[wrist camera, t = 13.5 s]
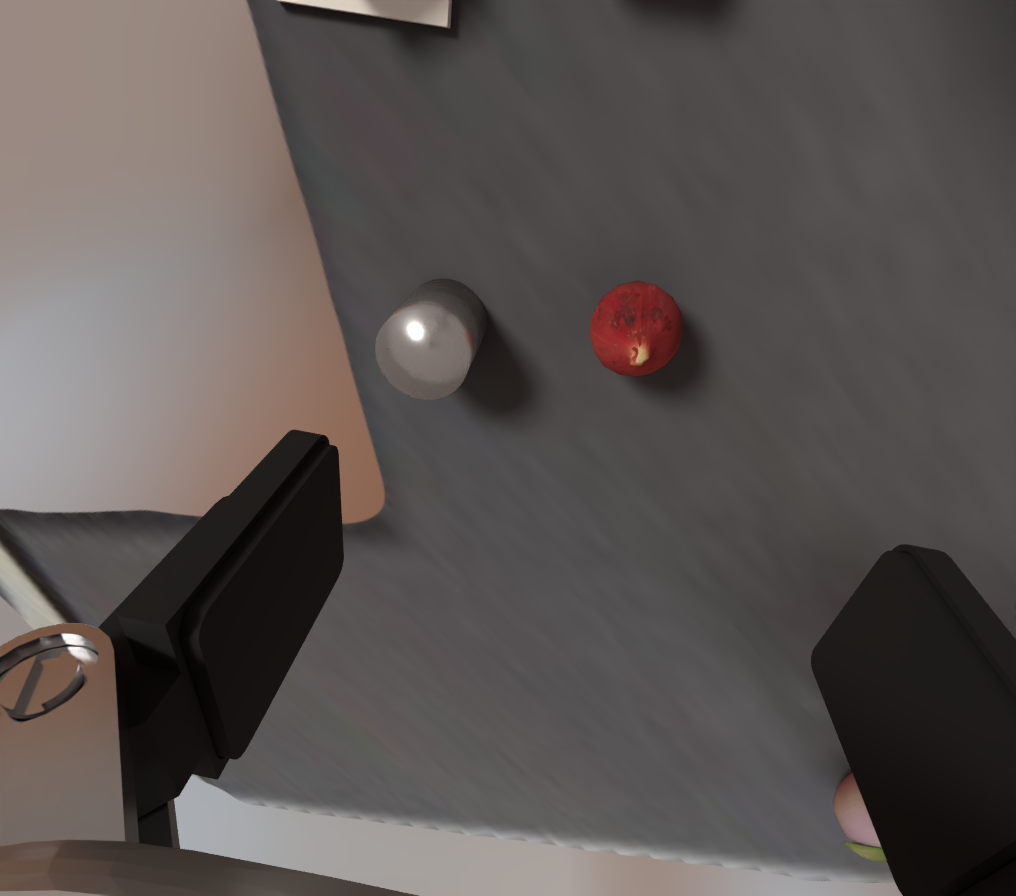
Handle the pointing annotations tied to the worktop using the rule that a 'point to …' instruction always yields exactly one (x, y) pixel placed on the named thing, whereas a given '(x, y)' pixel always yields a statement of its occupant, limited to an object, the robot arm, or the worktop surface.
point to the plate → (390, 9)
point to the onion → (636, 329)
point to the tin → (432, 339)
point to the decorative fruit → (856, 820)
